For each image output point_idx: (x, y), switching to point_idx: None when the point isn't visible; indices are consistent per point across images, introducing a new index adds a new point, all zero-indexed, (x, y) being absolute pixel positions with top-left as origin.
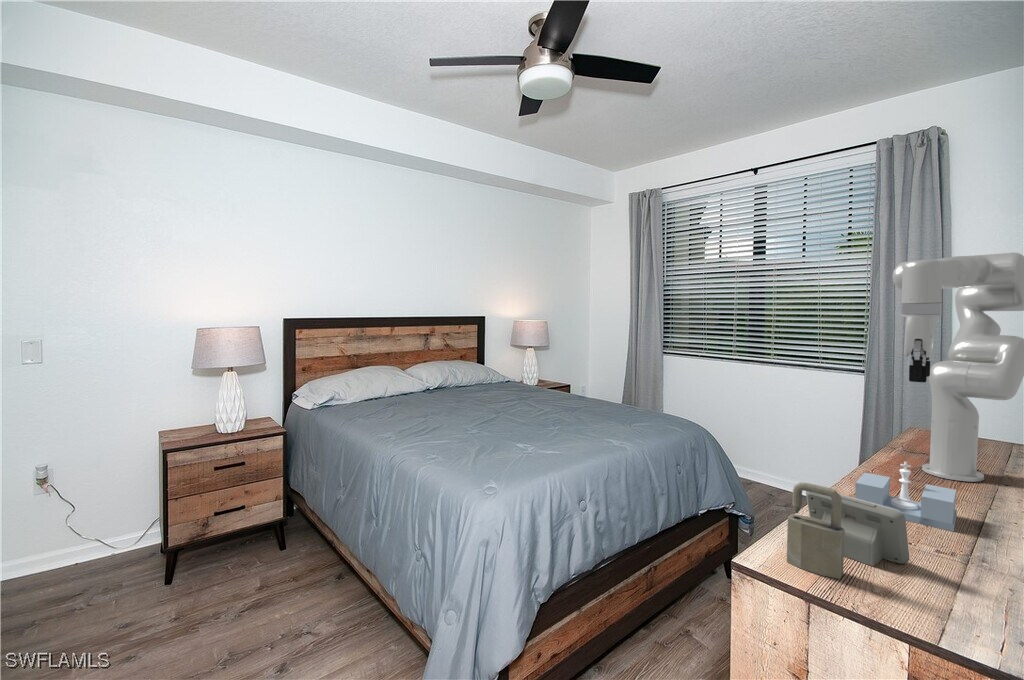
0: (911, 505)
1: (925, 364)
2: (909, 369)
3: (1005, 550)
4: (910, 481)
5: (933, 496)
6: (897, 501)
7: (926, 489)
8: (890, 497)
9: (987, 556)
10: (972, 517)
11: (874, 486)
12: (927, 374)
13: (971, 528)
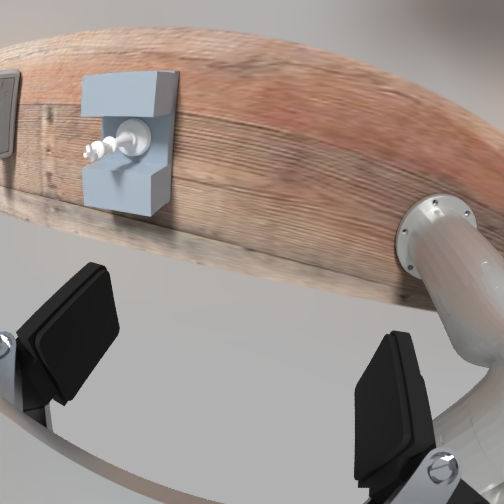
0: (120, 148)
1: (362, 453)
2: (38, 311)
3: (94, 232)
4: (107, 154)
5: (91, 183)
6: (120, 129)
7: (119, 174)
8: (162, 115)
9: (68, 214)
10: (184, 220)
11: (81, 104)
12: (356, 393)
13: None
